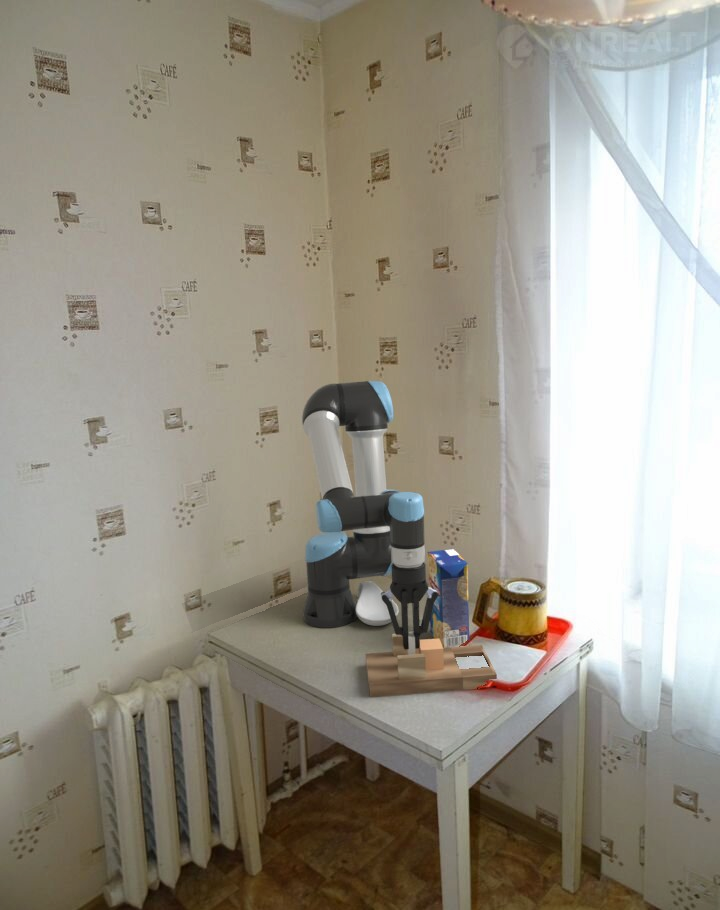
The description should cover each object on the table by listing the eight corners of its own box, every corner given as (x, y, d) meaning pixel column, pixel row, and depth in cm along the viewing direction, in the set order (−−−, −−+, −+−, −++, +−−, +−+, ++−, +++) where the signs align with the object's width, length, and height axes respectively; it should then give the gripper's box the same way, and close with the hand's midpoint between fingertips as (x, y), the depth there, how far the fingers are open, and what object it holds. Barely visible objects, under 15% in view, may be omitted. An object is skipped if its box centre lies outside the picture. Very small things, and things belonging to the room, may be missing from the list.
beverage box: (455, 628, 178) (453, 548, 173) (469, 647, 167) (467, 563, 163) (430, 631, 176) (427, 551, 172) (443, 651, 166) (440, 566, 162)
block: (418, 659, 156) (418, 639, 155) (440, 658, 156) (439, 638, 155) (421, 670, 151) (420, 650, 150) (443, 669, 151) (443, 648, 150)
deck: (366, 665, 161) (364, 634, 159) (481, 656, 162) (481, 625, 161) (370, 697, 147) (368, 663, 146) (496, 686, 148) (496, 653, 147)
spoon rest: (404, 628, 180) (403, 603, 178) (361, 634, 177) (359, 609, 176) (382, 594, 203) (381, 572, 201) (344, 600, 200) (342, 577, 199)
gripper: (380, 570, 145) (384, 671, 149) (440, 566, 145) (443, 667, 150) (377, 558, 152) (382, 655, 157) (434, 555, 153) (437, 651, 157)
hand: (411, 661), depth 153 cm, fingers closed
